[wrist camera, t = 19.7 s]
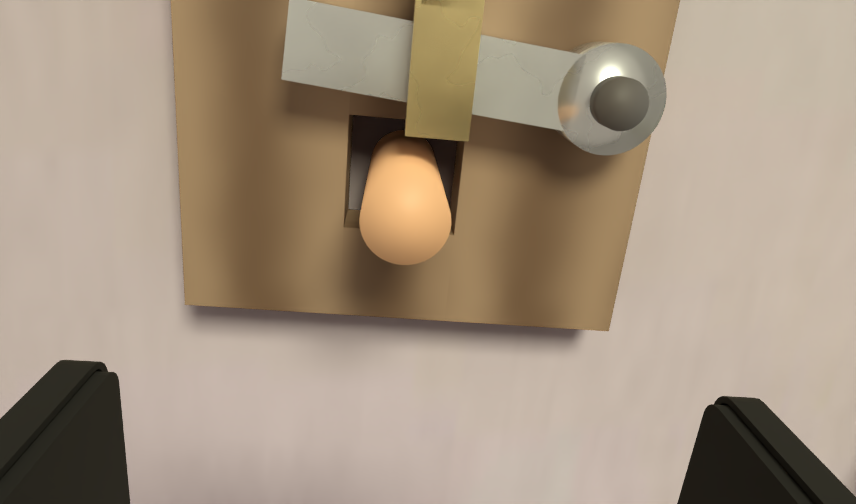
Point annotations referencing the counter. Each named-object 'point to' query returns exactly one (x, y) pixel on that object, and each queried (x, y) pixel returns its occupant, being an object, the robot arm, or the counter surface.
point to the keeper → (443, 68)
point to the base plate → (330, 177)
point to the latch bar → (495, 78)
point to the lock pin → (404, 201)
